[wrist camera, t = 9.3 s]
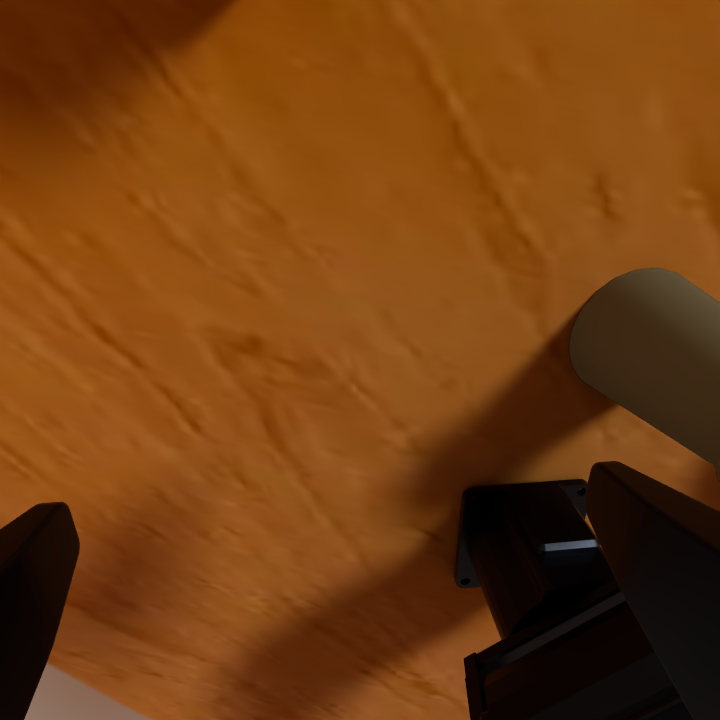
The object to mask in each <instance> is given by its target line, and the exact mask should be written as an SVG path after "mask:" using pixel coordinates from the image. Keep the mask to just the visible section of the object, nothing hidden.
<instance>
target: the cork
mask: <svg viewBox="0 0 720 720" xmlns="http://www.w3.org/2000/svg"><path fill="white" fill-rule="evenodd" d="M569 353H570V357H571V362H572V366H573V368H574V370H575V371H576V373H577V374H578V376H579V377H580V378H581V380H582V381H583V382H585V383H586V384H588V385H589V386H591V387H592V388H594V389H596V390H597V391H599V392H600V393H602V394H603V395H605V396H606V397H608V398H610V399H611V400H613V401H614V402H616V403H617V404H619V405H621V406H622V407H624V408H625V409H627V410H628V411H630V412H631V413H633V414H635V415H636V416H638V417H639V418H641V419H642V420H644V421H645V422H647V423H649V424H650V425H652V426H653V427H655V428H656V429H658V430H660V431H661V432H663V433H664V434H666V435H667V436H669V437H670V438H672V439H674V440H675V441H677V442H678V443H680V444H681V445H683V446H684V447H686V448H688V449H689V450H691V451H692V452H694V453H695V454H697V455H699V456H700V457H702V458H703V459H705V460H706V461H708V462H709V463H711V464H713V465H714V466H716V473H717V478H718V480H719V482H720V302H718V301H717V300H715V299H714V298H712V297H711V296H710V295H708V294H707V293H705V292H704V291H702V290H701V289H700V288H698V287H697V286H695V285H694V284H692V283H691V282H690V281H688V280H687V279H685V278H684V277H682V276H681V275H680V274H678V273H676V272H672V271H669V270H665V269H661V268H649V269H637V270H634V271H632V272H629V273H627V274H624V275H621V276H619V277H616V278H614V279H613V280H612V281H610V282H609V283H608V284H606V285H605V286H603V287H602V288H601V289H599V290H598V291H597V292H595V294H594V295H593V296H592V297H591V298H590V300H589V301H588V302H587V303H586V304H585V306H584V307H583V308H582V309H581V311H580V313H579V315H578V317H577V319H576V322H575V324H574V326H573V328H572V331H571V338H570V345H569Z"/></svg>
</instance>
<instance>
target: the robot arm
mask: <svg viewBox="0 0 720 720" xmlns="http://www.w3.org/2000/svg"><path fill="white" fill-rule="evenodd" d="M581 488H582V489H581ZM579 489H581V490H579ZM578 490H579V491H578ZM472 497H476V498H474V499H471V498H472ZM586 513H587V516H588V518H589V520H590V522H591V525H592V527H593V529H594V532H595V534H596V535H595V534H594V532H593V531H592V529H591V528H590V527H589V525H588V524H587V522H586V521H585V516H586ZM596 536H597V537H596ZM600 545H601V547H602V548H601V547H600ZM79 549H80V543H79V537H78V534H77V531H76V528H75V525H74V521H73V518H72V515H71V512H70V509H69V507H68V505H67V504H66V503H63V502H52V503H41V504H37V505H35V506H34V507H32V508H31V509H29V510H28V511H26V512H25V513H23V514H22V515H20V516H19V517H17V518H16V519H15V520H13V521H12V522H10V523H9V524H7V525H6V526H4V527H3V528H2V529H0V720H24V719H25V716H26V714H27V711H28V709H29V706H30V703H31V701H32V698H33V696H34V693H35V691H36V688H37V686H38V683H39V681H40V678H41V675H42V673H43V671H44V668H45V666H46V663H47V660H48V658H49V655H50V652H51V650H52V647H53V644H54V641H55V637H56V634H57V631H58V627H59V624H60V620H61V617H62V613H63V609H64V606H65V602H66V598H67V595H68V591H69V588H70V584H71V580H72V577H73V573H74V570H75V566H76V562H77V559H78V555H79ZM454 578H455V581H456V584H457V586H458V587H460V588H470V587H481V588H482V591H483V593H484V596H485V598H486V601H487V604H488V606H489V609H490V611H491V614H492V617H493V619H494V622H495V624H496V627H497V630H498V632H499V635H500V637H501V641H499V642H497V643H496V644H494V645H492V646H490V647H488V648H487V649H485V650H483V651H481V652H479V653H477V654H476V653H473V654H471V655H469V656H467V657H465V658H464V666H465V674H466V678H465V682H466V689H467V697H468V704H469V712H470V719H471V720H720V512H719V511H717V510H715V509H713V508H711V507H709V506H707V505H705V504H703V503H701V502H699V501H697V500H695V499H693V498H691V497H689V496H687V495H685V494H683V493H681V492H679V491H677V490H675V489H673V488H671V487H669V486H667V485H664V484H662V483H660V482H658V481H656V480H654V479H652V478H650V477H648V476H646V475H644V474H642V473H640V472H638V471H636V470H634V469H632V468H630V467H628V466H626V465H624V464H622V463H620V462H617V461H610V462H598V463H595V464H594V465H593V466H592V468H591V471H590V476H589V480H588V483H587V482H586V481H585V480H583V479H575V480H562V481H549V482H536V483H523V484H509V485H496V486H483V487H472V488H469V489H467V490H465V492H464V493H463V495H462V504H461V514H460V524H459V533H458V543H457V553H456V563H455V573H454ZM463 578H464V579H463Z"/></svg>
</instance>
